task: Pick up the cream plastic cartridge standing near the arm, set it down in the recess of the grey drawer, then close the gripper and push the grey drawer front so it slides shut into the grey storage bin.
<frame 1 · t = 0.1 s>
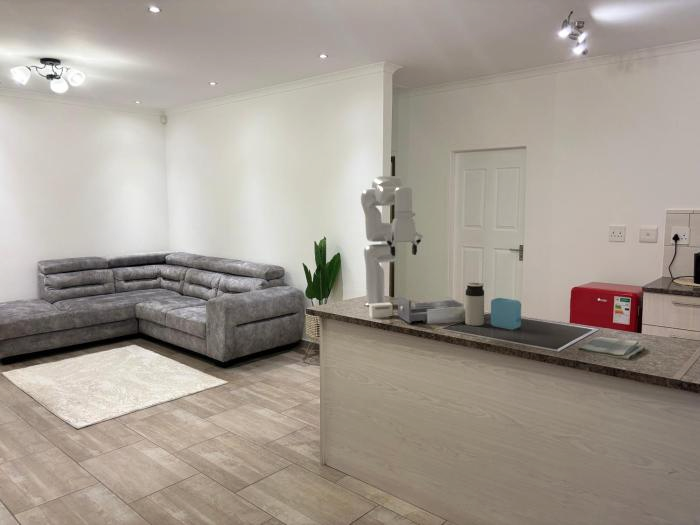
hand: (403, 255, 233), 31 cm above the counter, fingers open, 9 cm apart
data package: (505, 327, 230), on the counter
cartridge: (380, 316, 254), on the counter
travel mug: (474, 324, 236), on the counter
grey storage bin: (436, 318, 247), on the counter
grey drawer: (419, 307, 244), point 6 cm above the counter, slide at 7.0 cm
dish towel: (611, 351, 195), on the counter
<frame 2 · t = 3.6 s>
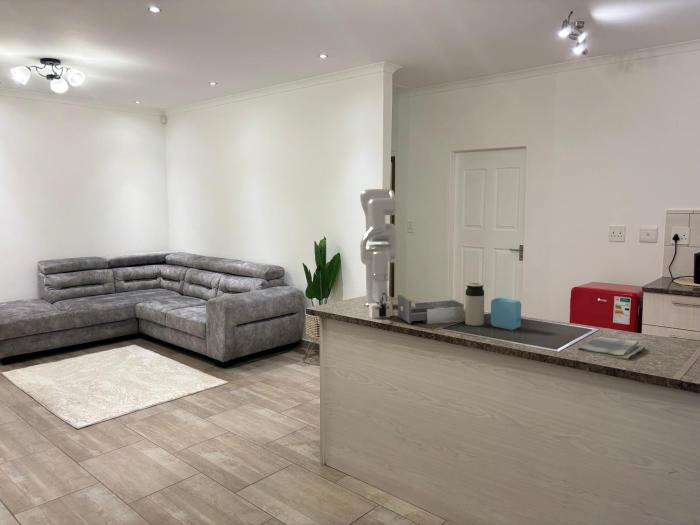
hand: (380, 314, 254), 1 cm above the counter, fingers closed on cartridge, 5 cm apart
cartridge: (380, 316, 254), on the counter, touching gripper
everything else where it was.
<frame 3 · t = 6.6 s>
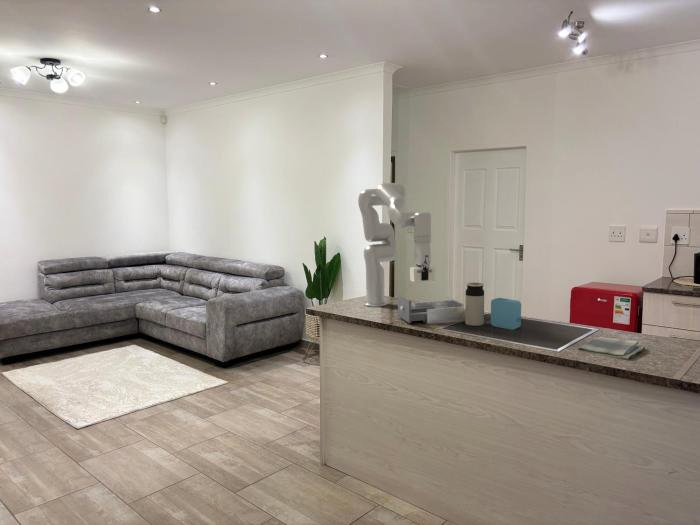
hand: (422, 278, 243), 19 cm above the counter, fingers closed on cartridge, 5 cm apart
cartridge: (422, 280, 243), point 18 cm above the counter, touching gripper
everything else where it was.
when the fingers open (5 cm above the counter, at t = 9.6 s): cartridge drops 1 cm, resting on grey drawer.
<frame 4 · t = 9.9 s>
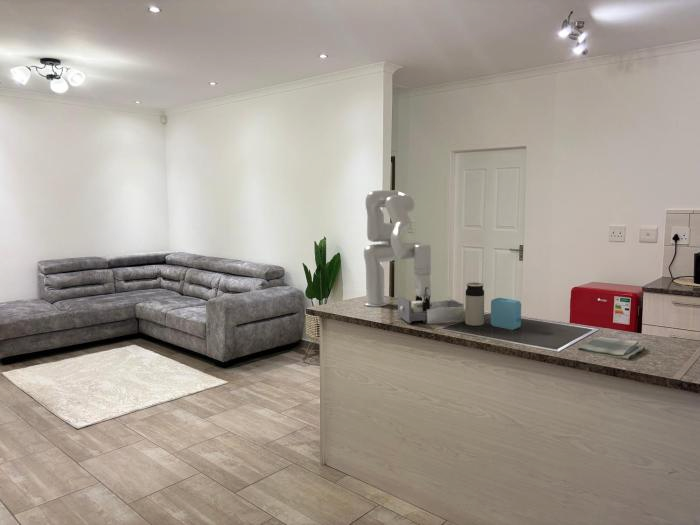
hand: (422, 308, 245), 5 cm above the counter, fingers open, 8 cm apart
cartridge: (422, 314, 245), point 2 cm above the counter, touching grey drawer
grey drawer: (419, 307, 244), point 6 cm above the counter, slide at 7.0 cm, touching cartridge
everything else where it was.
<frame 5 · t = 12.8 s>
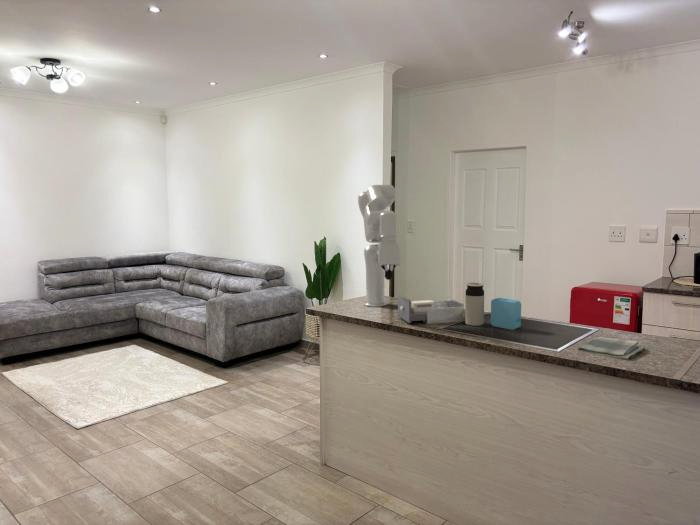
hand: (388, 279, 245), 19 cm above the counter, fingers closed
nothing on the counter moved.
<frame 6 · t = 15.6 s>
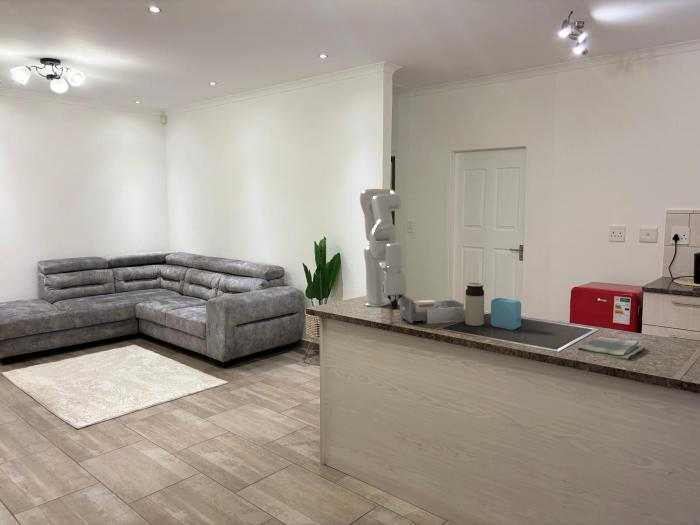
hand: (394, 309, 248), 5 cm above the counter, fingers closed
grey drawer: (421, 307, 244), point 6 cm above the counter, slide at 6.1 cm, touching cartridge, gripper
everything else where it was.
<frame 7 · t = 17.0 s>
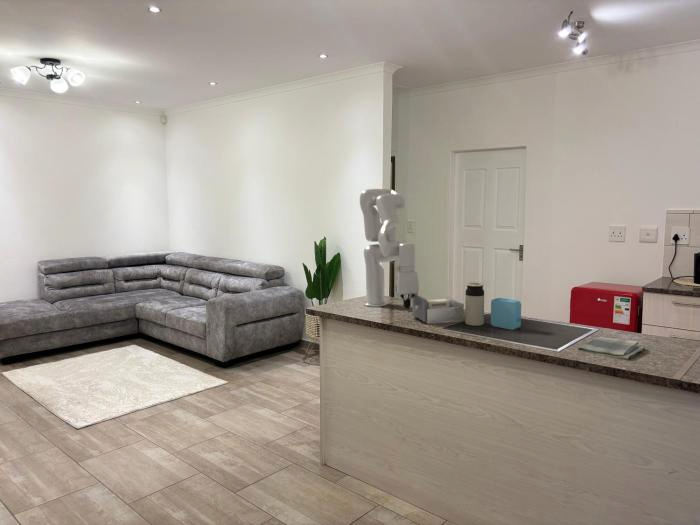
hand: (406, 308, 249), 5 cm above the counter, fingers closed
cartridge: (436, 313, 247), point 2 cm above the counter, touching grey drawer
grey drawer: (434, 306, 246), point 6 cm above the counter, slide at -0.2 cm, touching cartridge, gripper
everything else where it was.
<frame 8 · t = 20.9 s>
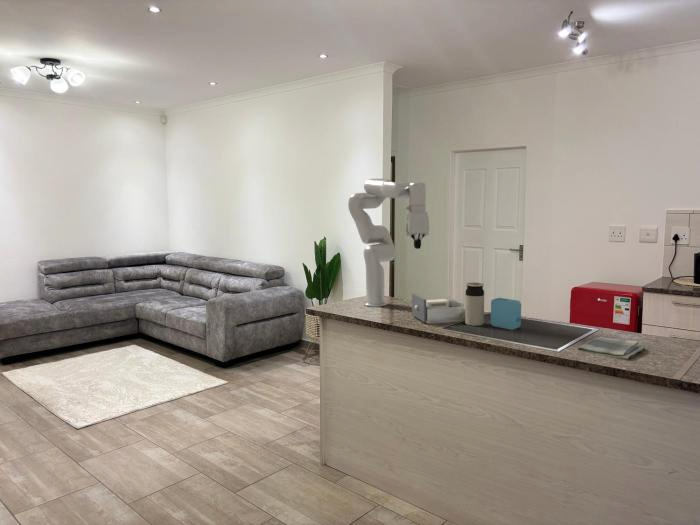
hand: (417, 248, 250), 32 cm above the counter, fingers closed
grey drawer: (434, 306, 246), point 6 cm above the counter, slide at 0.0 cm, touching cartridge
everything else where it was.
at the end: grey drawer slide at 0.0 cm; cartridge inside the target area on the grey storage bin (0.4 cm from its centre), point 2.5 cm above the grey storage bin's base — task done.
